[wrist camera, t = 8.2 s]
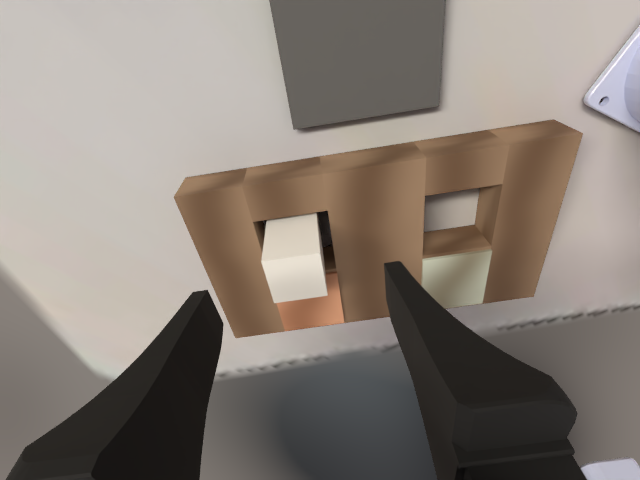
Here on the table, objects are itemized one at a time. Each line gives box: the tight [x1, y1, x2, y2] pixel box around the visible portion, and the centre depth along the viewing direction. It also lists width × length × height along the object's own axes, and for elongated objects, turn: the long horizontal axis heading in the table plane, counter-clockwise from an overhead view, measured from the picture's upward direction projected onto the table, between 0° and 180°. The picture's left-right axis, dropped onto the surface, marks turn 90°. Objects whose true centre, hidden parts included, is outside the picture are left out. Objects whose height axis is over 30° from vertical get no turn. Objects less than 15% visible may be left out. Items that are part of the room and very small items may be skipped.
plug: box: [261, 212, 328, 303], centre depth 21 cm, size 3×3×6 cm
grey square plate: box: [269, 0, 445, 129], centre depth 17 cm, size 8×8×1 cm
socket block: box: [174, 120, 583, 338], centre depth 23 cm, size 22×12×3 cm, turn 98°
